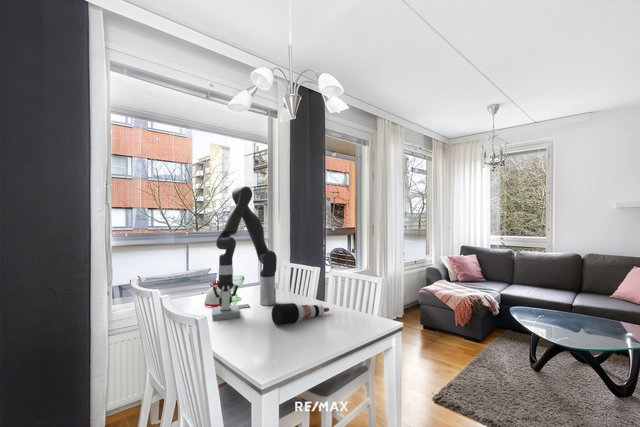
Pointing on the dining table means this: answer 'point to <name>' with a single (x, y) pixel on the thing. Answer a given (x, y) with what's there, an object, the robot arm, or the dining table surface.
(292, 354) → the dining table surface
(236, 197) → the robot arm
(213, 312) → the plate
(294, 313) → the bottle
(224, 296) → the block
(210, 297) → the kitchen timer
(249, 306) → the panel
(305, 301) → the dining table surface
